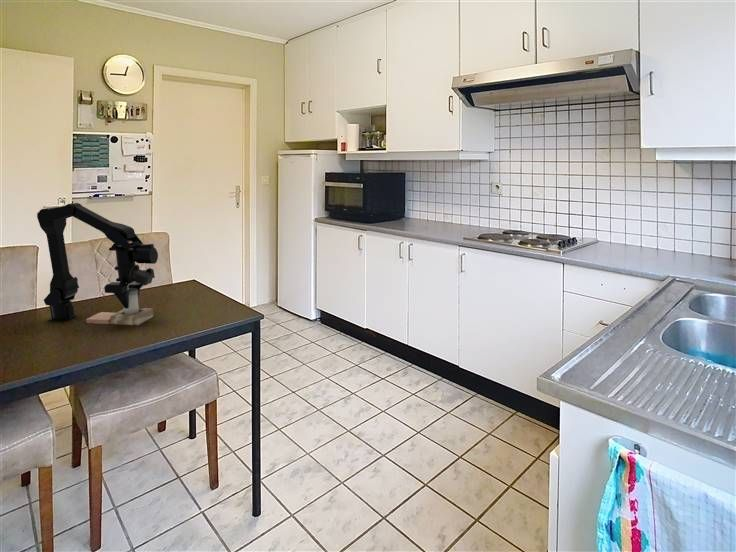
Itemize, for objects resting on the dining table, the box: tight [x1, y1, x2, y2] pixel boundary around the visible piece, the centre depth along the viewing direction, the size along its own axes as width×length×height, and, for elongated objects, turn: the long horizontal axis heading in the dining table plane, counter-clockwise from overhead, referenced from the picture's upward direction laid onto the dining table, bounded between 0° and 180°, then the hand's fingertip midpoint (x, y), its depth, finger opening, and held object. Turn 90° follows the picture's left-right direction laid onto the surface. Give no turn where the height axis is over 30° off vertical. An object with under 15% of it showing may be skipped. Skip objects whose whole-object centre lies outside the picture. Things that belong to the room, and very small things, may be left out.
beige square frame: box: [110, 307, 154, 326], centre depth 172 cm, size 10×10×3 cm
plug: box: [122, 288, 140, 315], centre depth 171 cm, size 5×5×10 cm
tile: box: [85, 311, 116, 325], centre depth 172 cm, size 8×8×2 cm
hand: (130, 306), depth 171 cm, fingers closed on plug, 5 cm apart
